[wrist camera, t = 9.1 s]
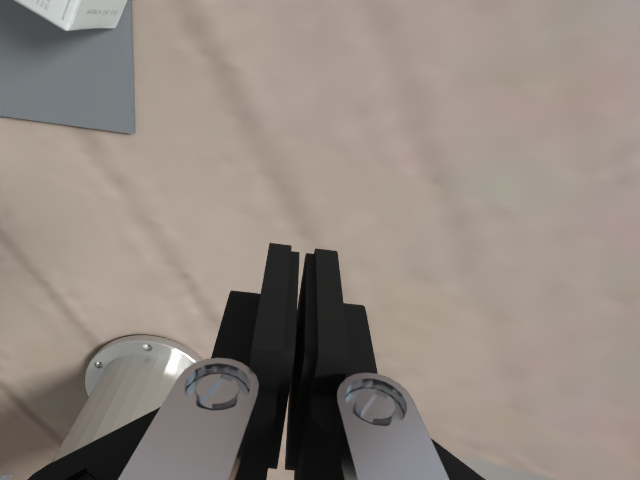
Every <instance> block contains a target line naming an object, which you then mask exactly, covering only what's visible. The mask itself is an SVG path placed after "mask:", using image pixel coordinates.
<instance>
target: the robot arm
mask: <svg viewBox="0 0 640 480" xmlns="http://www.w3.org/2000/svg"><path fill="white" fill-rule="evenodd" d="M298 274H299V252H292V251H291V246H290V245H282V244H274V243H270V244H269V250H268V256H267V261H266V267H265V273H264V278H263V284H262V290H261V294H257V293H248V292H239V291H230V294H229V298H228V301H227V305H226V308H225V311H224V315H223V318H222V322H221V325H220V329H219V332H218V336H217V339H216V343H215V346H214V350H213V353H212V357H211V359H205V360H202V361H201V359H199V358H198V357H197V356H196V355H195V354H194V353H193V352H192V351H190V350H189V349H187V348H186V347H184V346H183V345H180V344H178V343H176V342H174V341H172V340H168V339H165V338H161V337H156V336H149V335H134V336H128V337H122V338H120V339H117V340H114V341H112V342H110V343H108V344H107V345H105V346H103V347H102V348H101V349H100V350H99V351H98V352H97V353H96V354H95V356H94V357H93V359H92V360H91V362H90V363H89V365H88V368H87V370H86V374H85V389H86V392H87V394H88V397H89V398H88V399H87V401H86V403H85V404H84V406H83V408H82V410H81V411H80V413H79V415H78V417H77V418H76V420H75V422H74V424H73V425H72V427H71V429H70V431H69V432H68V434H67V436H66V437H65V439H64V441H63V443H62V444H61V446H60V448H59V450H58V451H57V453H56V455H55V457H54V458H53V460H52V462H51V463H50V464H48V465H47V466H45V467H44V468H42V469H41V470H39V471H37V472H36V473H34V474H33V475H32V476H31V477H30V478H29V479H28V480H266V478H267V471H268V468H272V469H277V465H278V459H279V453H280V446H281V440H282V434H283V427H284V421H285V415H286V408H287V402H288V395H289V403H288V422H287V440H286V458H285V470H295V473H294V480H485V479H484V478H482V477H481V476H480V475H478V474H477V473H476V472H475V471H473V470H472V469H471V468H469V467H468V466H467V465H465V464H464V463H463V462H461V461H460V460H459V459H457V458H456V457H455V456H453V455H452V454H451V453H449V452H448V451H447V450H446V449H444V448H443V447H442V446H440V445H439V444H438V443H436V442H435V441H434V440H432V439H431V438H430V436H429V434H428V431H427V429H426V427H425V425H424V423H423V420H422V418H421V416H420V414H419V412H418V409H417V407H416V405H415V403H414V401H413V399H412V397H411V396H410V394H409V393H408V391H407V390H406V389H405V388H403V387H402V386H401V385H400V384H399V383H397V382H396V381H394V380H392V379H390V378H389V377H386V376H382V375H379V374H378V373H377V368H376V363H375V357H374V352H373V347H372V341H371V336H370V331H369V325H368V320H367V315H366V310H365V307H364V306H363V305H354V304H345V303H343V296H342V287H341V279H340V270H339V261H338V253H337V251H331V250H323V249H315V251H314V254H309V253H306V256H305V262H304V269H303V276H302V282H301V289H300V295H299V302H298V309H297V297H298ZM0 480H14V478H13V474H12V475H3V476H0Z"/></svg>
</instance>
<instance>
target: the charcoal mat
mask: <svg viewBox="0 0 640 480" xmlns="http://www.w3.org/2000/svg"><path fill="white" fill-rule="evenodd" d="M0 116H5V117H12V118H19V119H27V120H34V121H41V122H48V123H55V124H63V125H70V126H77V127H84V128H92V129H99V130H106V131H113V132H120V133H128V134H134V133H135V99H134V62H133V26H132V0H127V3H126V5H125V7H124V10H123V12H122V15H121V17H120V20H119V22H118V24H117V26H116V28H113V29H109V28H92V29H80V30H72V31H65V30H63V29H61V28H60V27H58V26H56V25H55V24H53V23H51V22H50V21H48V20H46V19H45V18H43V17H41V16H40V15H38V14H36V13H35V12H33V11H31V10H29V9H28V8H26V7H24V6H23V5H21V4H19V3H18V2H16V1H14V0H0Z"/></svg>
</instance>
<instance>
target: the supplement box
mask: <svg viewBox="0 0 640 480" xmlns="http://www.w3.org/2000/svg"><path fill="white" fill-rule="evenodd" d="M14 1H16V2H18V3H19V4H21V5H23V6H24V7H26V8H28V9H29V10H31V11H33V12H35V13H36V14H38V15H40V16H41V17H43V18H45V19H46V20H48V21H50V22H51V23H53V24H55V25H56V26H58V27H60V28H61V29H63V30H65V31H72V30H80V29H92V28H109V29H113V28H116V26H117V24H118V22H119V20H120V17H121V15H122V12H123V10H124V7H125V5H126V3H127V0H14Z"/></svg>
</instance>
